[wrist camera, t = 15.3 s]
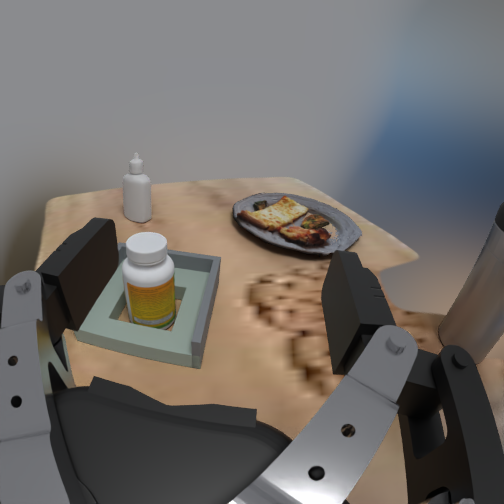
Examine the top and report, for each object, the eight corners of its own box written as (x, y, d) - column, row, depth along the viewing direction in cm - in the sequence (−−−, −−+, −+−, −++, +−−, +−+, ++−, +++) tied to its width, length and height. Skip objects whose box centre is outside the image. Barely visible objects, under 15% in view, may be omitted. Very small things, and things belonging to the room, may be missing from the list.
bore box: (200, 368, 27) (200, 342, 24) (77, 340, 26) (67, 313, 24) (218, 282, 38) (220, 257, 36) (122, 267, 38) (119, 242, 36)
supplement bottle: (185, 322, 32) (185, 246, 27) (142, 341, 28) (132, 263, 23) (161, 295, 35) (158, 223, 30) (122, 310, 31) (110, 236, 26)
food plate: (319, 280, 42) (325, 259, 40) (205, 221, 53) (207, 203, 51) (370, 234, 60) (375, 219, 58) (281, 196, 71) (284, 183, 69)
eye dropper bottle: (144, 209, 54) (144, 148, 47) (153, 221, 50) (153, 155, 44) (122, 213, 51) (120, 151, 45) (130, 226, 48) (127, 158, 41)
